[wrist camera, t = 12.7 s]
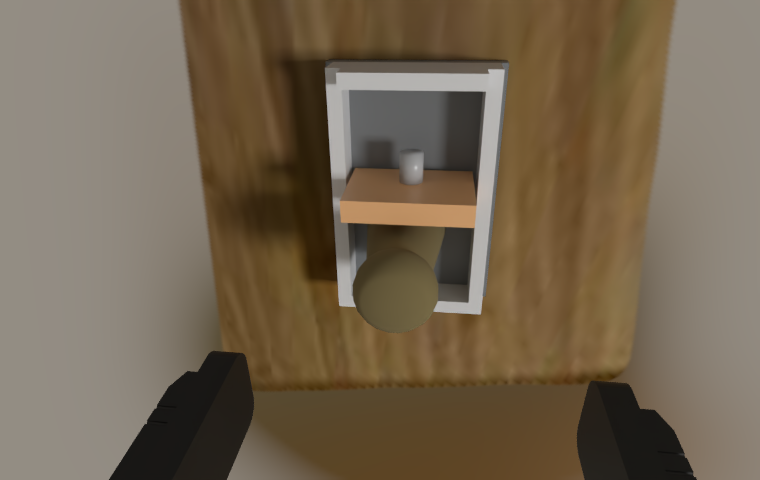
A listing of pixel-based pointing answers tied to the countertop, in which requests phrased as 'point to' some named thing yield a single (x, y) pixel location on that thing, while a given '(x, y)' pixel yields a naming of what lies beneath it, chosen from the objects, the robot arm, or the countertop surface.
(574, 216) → the countertop surface
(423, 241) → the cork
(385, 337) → the countertop surface
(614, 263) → the countertop surface
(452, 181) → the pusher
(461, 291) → the white walled tray
